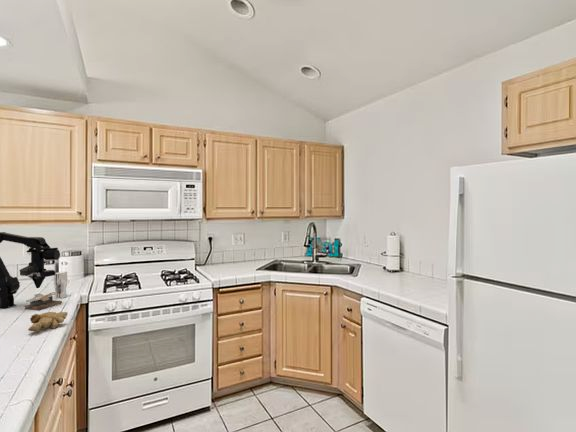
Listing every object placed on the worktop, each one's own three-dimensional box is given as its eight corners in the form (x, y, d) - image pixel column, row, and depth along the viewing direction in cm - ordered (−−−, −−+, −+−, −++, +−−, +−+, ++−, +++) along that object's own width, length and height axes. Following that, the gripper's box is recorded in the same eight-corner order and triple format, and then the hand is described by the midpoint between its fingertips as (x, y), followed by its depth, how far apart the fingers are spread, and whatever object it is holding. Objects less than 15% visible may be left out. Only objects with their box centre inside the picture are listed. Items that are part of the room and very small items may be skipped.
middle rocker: (34, 296, 181) (34, 294, 181) (39, 295, 184) (39, 292, 184) (43, 301, 180) (44, 298, 180) (48, 299, 183) (49, 297, 182)
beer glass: (51, 299, 196) (51, 274, 196) (56, 296, 203) (56, 272, 202) (65, 298, 198) (64, 273, 197) (69, 295, 204) (69, 271, 204)
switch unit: (25, 309, 177) (24, 301, 177) (48, 302, 189) (48, 295, 189) (39, 310, 174) (39, 303, 174) (61, 303, 187) (61, 296, 187)
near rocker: (26, 302, 177) (25, 300, 177) (31, 301, 180) (31, 298, 180) (36, 299, 175) (35, 296, 175) (41, 298, 178) (40, 295, 178)
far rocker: (42, 298, 186) (42, 295, 186) (47, 296, 188) (46, 294, 189) (52, 295, 184) (51, 292, 184) (56, 293, 187) (56, 291, 187)
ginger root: (60, 315, 162) (60, 301, 160) (71, 330, 152) (72, 315, 150) (20, 325, 150) (20, 309, 148) (29, 342, 140) (29, 325, 138)
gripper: (9, 261, 177) (9, 290, 177) (36, 263, 172) (36, 292, 172) (30, 258, 187) (30, 285, 188) (56, 260, 183) (56, 287, 183)
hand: (37, 288), depth 182 cm, fingers closed
